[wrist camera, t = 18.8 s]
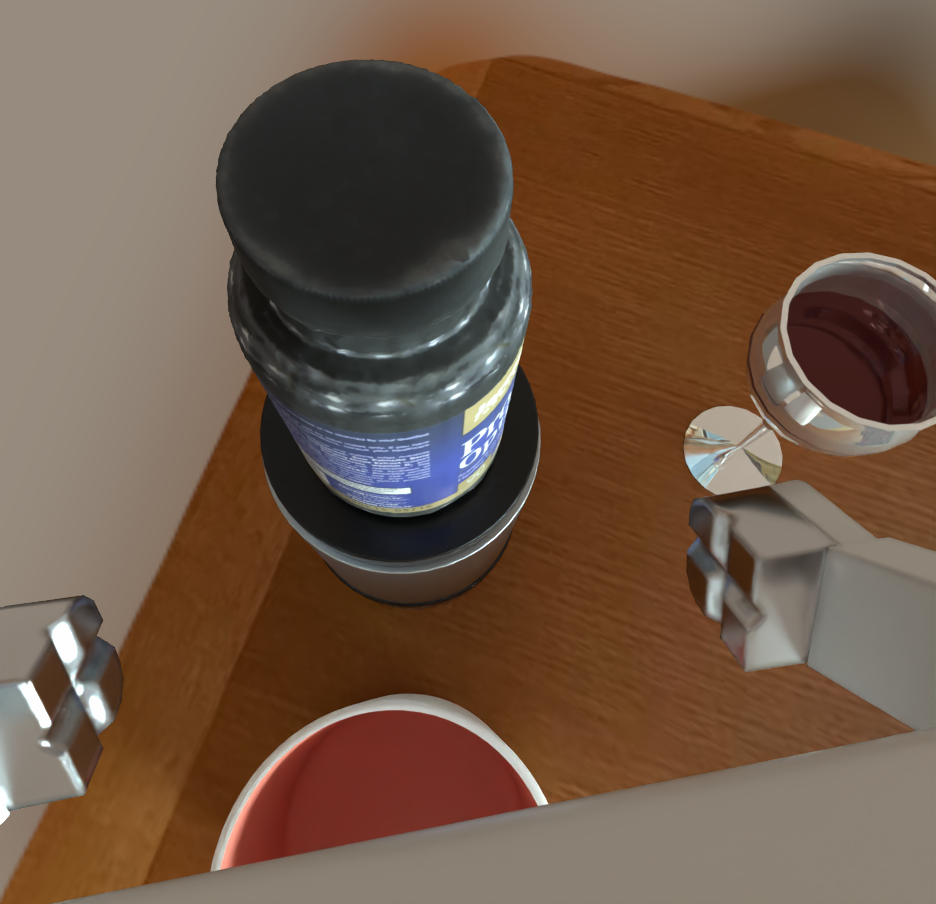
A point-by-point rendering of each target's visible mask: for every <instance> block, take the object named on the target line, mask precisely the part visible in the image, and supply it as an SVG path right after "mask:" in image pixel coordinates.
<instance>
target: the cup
mask: <svg viewBox="0 0 936 904" xmlns="http://www.w3.org/2000/svg"><path fill="white" fill-rule="evenodd" d="M547 804H548V803H547V800H546V798H545V797H544V795H543V793H542V791H541V789H540V787H539V785H538V784H537V782H536V781H535V779H534V777H533V776H532V774H531V773H530V771H529V770H528V769H527V767H526V766H525V765H524V764H523V762H522V761H521V760H520V759H519V757H518V756H517V755H516V754H515V753H514V752H513V751H512V750H511V749H510V748H509V747H508V746H507V745H506V744H505V743H504V742H503V741H502V740H501V739H500V738H499V737H498V736H497V735H496V734H495V733H494V732H493V731H492V730H491V729H490V728H489V727H488V726H487V725H486V724H485V723H484V722H483V721H482V720H480V719H479V718H478V717H476V716H475V715H474V714H472V713H471V712H469V711H468V710H466V709H464V708H462V707H461V706H459V705H456V704H454V703H452V702H450V701H447V700H444V699H441V698H438V697H433V696H429V695H421V694H395V695H388V696H383V697H379V698H375V699H371V700H368V701H364V702H361V703H358V704H354V705H351V706H348V707H345V708H342V709H339V710H336V711H334V712H331V713H329V714H327V715H325V716H323V717H321V718H319V719H317V720H315V721H313V722H311V723H310V724H308V725H306V726H305V727H303V728H302V729H300V730H299V731H298V732H296V733H295V734H293V735H292V736H291V737H289V738H288V739H287V740H286V741H285V742H284V743H282V744H281V745H280V746H279V747H278V748H277V749H276V750H275V751H274V752H273V753H272V754H271V755H270V756H269V757H268V758H267V759H266V760H265V761H264V762H263V763H262V765H261V766H260V767H259V768H258V769H257V771H256V772H255V773H254V774H253V776H252V777H251V778H250V780H249V781H248V783H247V784H246V786H245V787H244V789H243V790H242V792H241V793H240V795H239V797H238V799H237V800H236V802H235V804H234V806H233V807H232V810H231V812H230V814H229V816H228V818H227V820H226V822H225V825H224V827H223V830H222V832H221V835H220V838H219V841H218V844H217V847H216V851H215V854H214V858H213V862H212V867H211V871H210V872H212V871H217V870H222V869H227V868H232V867H237V866H242V865H247V864H252V863H257V862H262V861H267V860H272V859H277V858H282V857H287V856H292V855H297V854H302V853H307V852H312V851H317V850H322V849H327V848H332V847H337V846H342V845H347V844H352V843H357V842H362V841H367V840H372V839H377V838H382V837H387V836H392V835H397V834H402V833H407V832H412V831H417V830H422V829H427V828H432V827H437V826H442V825H447V824H452V823H457V822H462V821H467V820H472V819H477V818H482V817H487V816H492V815H497V814H502V813H507V812H512V811H517V810H522V809H527V808H532V807H537V806H542V805H547Z"/></svg>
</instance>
